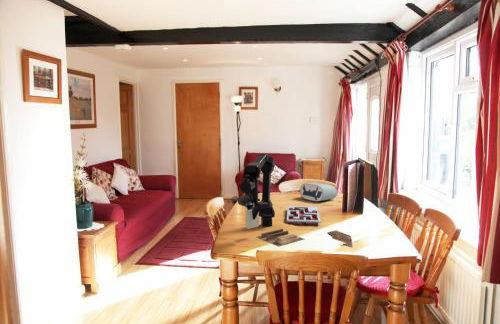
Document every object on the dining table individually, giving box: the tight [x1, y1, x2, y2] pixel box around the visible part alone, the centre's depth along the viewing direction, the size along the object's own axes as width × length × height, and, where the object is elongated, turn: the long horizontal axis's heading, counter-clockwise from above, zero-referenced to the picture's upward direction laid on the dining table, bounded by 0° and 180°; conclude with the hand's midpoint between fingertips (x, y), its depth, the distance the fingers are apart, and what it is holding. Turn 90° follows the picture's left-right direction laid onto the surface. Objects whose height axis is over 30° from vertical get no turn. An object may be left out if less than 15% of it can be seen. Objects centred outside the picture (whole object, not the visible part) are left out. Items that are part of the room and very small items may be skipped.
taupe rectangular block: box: [245, 209, 260, 230], centre depth 184 cm, size 2×7×9 cm, turn 127°
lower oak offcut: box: [275, 236, 300, 246], centre depth 180 cm, size 5×12×1 cm, turn 127°
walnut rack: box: [256, 228, 305, 248], centre depth 184 cm, size 18×18×3 cm
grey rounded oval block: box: [299, 182, 338, 202], centre depth 278 cm, size 22×19×13 cm
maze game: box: [286, 205, 322, 226], centre depth 227 cm, size 35×20×3 cm, turn 173°
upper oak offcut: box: [277, 233, 297, 242], centre depth 180 cm, size 4×10×1 cm, turn 127°
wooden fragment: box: [327, 229, 353, 248], centre depth 186 cm, size 26×11×1 cm, turn 1°
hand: (252, 218), depth 184 cm, fingers closed on taupe rectangular block, 2 cm apart
